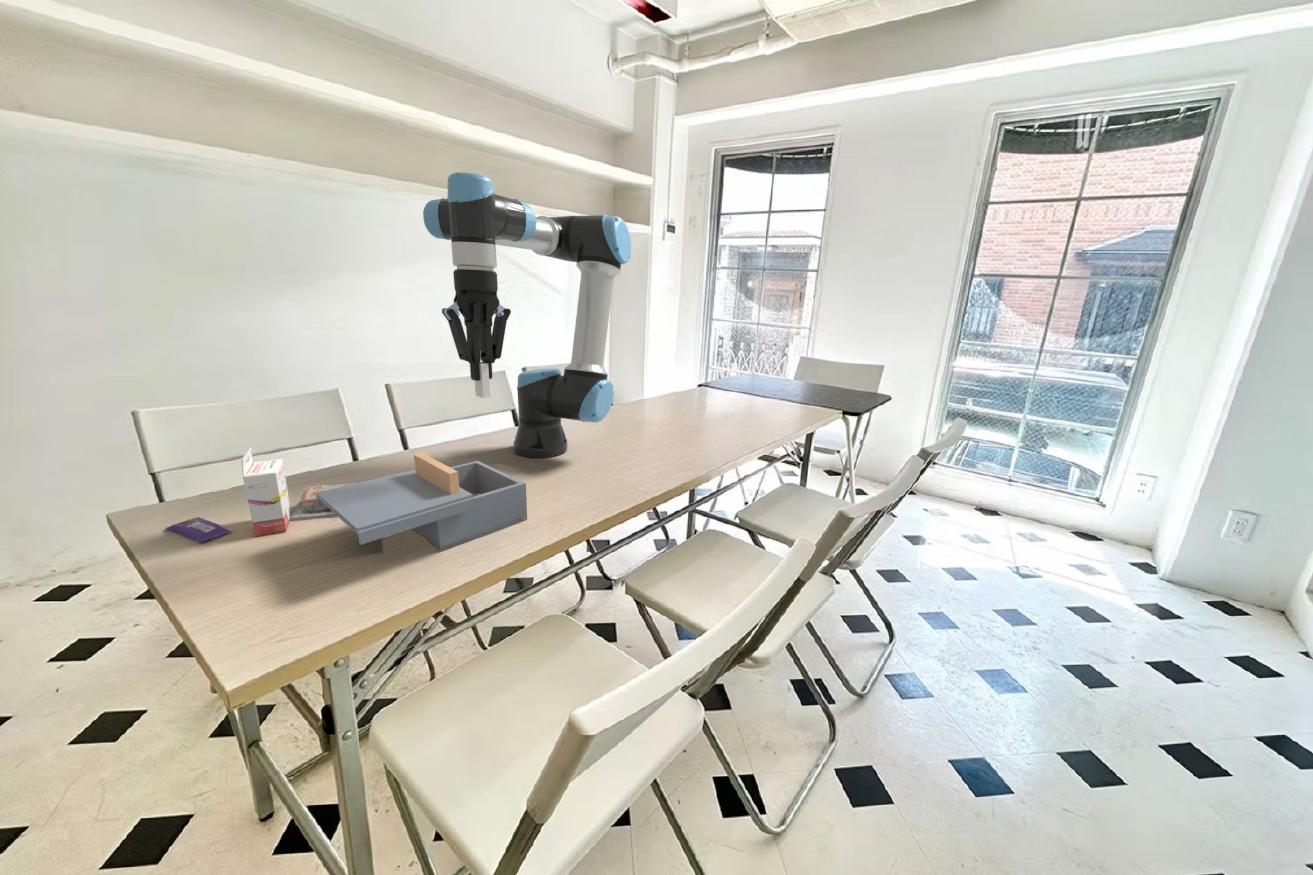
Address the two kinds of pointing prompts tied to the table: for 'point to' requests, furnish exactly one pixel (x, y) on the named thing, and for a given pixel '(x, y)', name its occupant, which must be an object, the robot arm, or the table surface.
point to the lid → (399, 500)
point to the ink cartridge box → (266, 494)
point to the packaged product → (314, 503)
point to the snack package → (198, 529)
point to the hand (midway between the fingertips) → (482, 396)
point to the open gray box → (479, 507)
